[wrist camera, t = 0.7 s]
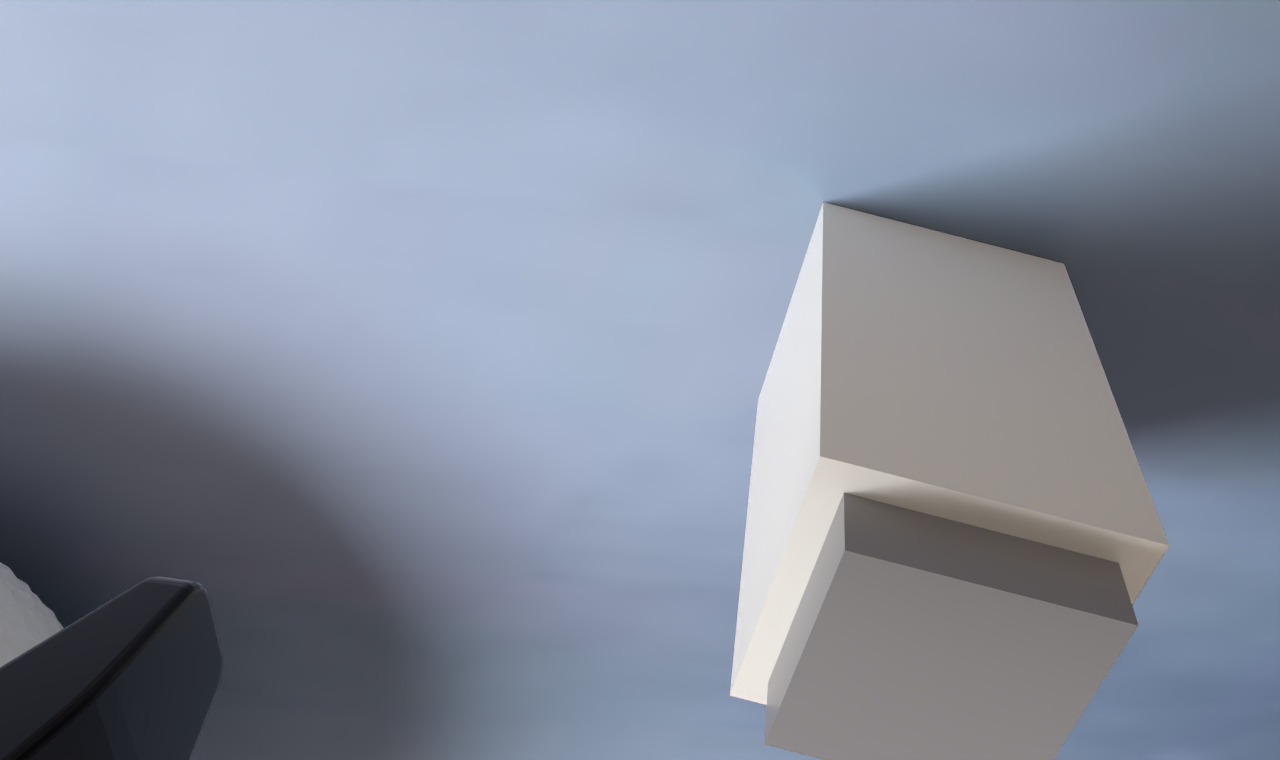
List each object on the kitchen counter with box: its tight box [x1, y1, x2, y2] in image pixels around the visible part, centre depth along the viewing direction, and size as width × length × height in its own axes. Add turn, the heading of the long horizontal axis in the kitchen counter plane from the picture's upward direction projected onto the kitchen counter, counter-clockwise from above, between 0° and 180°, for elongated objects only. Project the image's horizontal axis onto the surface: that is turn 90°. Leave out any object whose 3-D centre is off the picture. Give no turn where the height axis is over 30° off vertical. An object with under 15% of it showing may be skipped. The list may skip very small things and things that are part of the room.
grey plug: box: [730, 202, 1169, 760], centre depth 17 cm, size 4×4×8 cm
